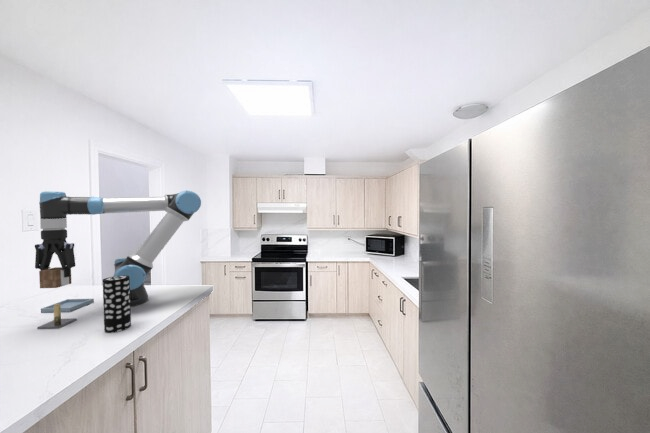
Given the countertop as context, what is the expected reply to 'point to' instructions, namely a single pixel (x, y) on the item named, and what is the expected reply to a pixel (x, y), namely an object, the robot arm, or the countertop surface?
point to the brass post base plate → (57, 320)
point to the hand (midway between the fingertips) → (56, 285)
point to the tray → (68, 305)
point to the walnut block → (51, 278)
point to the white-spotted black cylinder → (116, 303)
